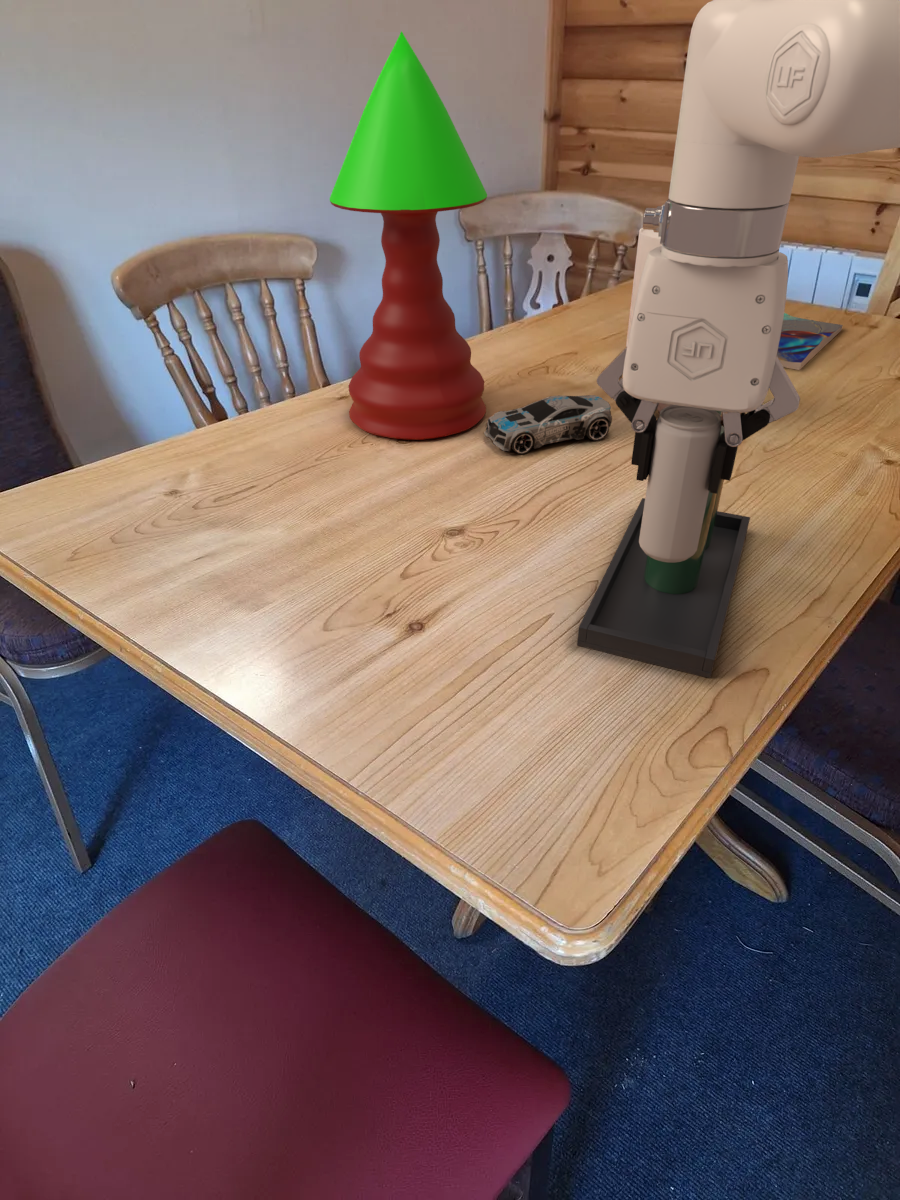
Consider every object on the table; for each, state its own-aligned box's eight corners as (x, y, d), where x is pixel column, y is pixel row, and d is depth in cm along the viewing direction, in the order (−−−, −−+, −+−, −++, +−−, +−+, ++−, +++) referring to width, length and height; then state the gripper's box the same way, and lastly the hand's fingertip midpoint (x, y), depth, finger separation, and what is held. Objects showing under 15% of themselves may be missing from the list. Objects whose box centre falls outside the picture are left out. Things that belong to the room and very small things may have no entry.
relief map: (757, 317, 149) (760, 306, 148) (841, 330, 142) (844, 319, 140) (708, 353, 133) (710, 341, 131) (799, 370, 125) (802, 357, 124)
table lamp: (378, 453, 102) (346, 30, 76) (331, 403, 117) (290, 33, 91) (510, 425, 109) (522, 27, 83) (450, 381, 124) (444, 31, 97)
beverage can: (655, 529, 68) (676, 398, 61) (706, 547, 66) (734, 413, 59) (627, 552, 66) (646, 417, 59) (679, 572, 63) (705, 433, 56)
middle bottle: (702, 571, 77) (734, 416, 68) (693, 599, 74) (725, 439, 64) (649, 560, 79) (674, 408, 70) (638, 587, 75) (662, 430, 66)
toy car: (479, 437, 106) (479, 402, 103) (588, 417, 111) (591, 383, 108) (501, 459, 100) (502, 422, 97) (616, 437, 105) (620, 402, 102)
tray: (746, 533, 84) (750, 516, 83) (710, 678, 65) (715, 659, 64) (639, 514, 88) (642, 497, 87) (576, 645, 69) (578, 626, 68)
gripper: (581, 233, 51) (562, 481, 62) (862, 252, 46) (788, 521, 56) (609, 214, 57) (587, 444, 67) (863, 228, 51) (795, 478, 62)
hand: (679, 477), depth 62 cm, fingers closed on beverage can, 4 cm apart
